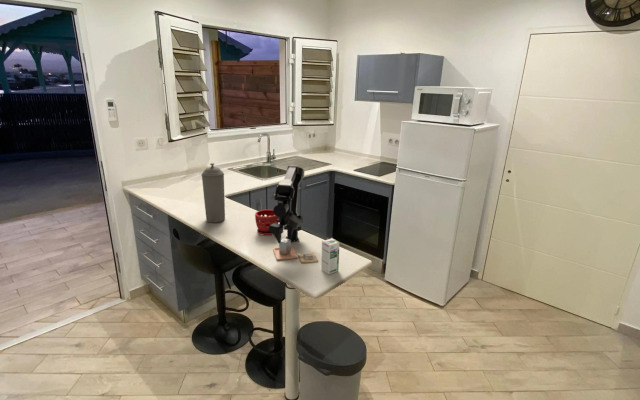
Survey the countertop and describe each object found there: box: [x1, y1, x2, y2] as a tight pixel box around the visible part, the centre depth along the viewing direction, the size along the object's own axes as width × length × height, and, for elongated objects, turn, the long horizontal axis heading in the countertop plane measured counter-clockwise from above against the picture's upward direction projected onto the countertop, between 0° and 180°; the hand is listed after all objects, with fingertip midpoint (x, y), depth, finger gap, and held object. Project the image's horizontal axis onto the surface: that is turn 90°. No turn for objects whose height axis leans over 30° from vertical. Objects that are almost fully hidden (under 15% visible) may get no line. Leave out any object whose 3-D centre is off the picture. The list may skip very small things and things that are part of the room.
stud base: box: [297, 251, 319, 264], centre depth 169 cm, size 8×8×2 cm
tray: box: [272, 245, 298, 261], centre depth 173 cm, size 12×10×1 cm
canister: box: [201, 162, 226, 224], centre depth 207 cm, size 13×13×35 cm
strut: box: [278, 237, 292, 256], centre depth 172 cm, size 4×4×7 cm
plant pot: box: [254, 209, 280, 237], centre depth 196 cm, size 13×13×12 cm
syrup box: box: [320, 237, 340, 275], centre depth 157 cm, size 6×6×14 cm
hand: (284, 239), depth 171 cm, fingers open, 9 cm apart
